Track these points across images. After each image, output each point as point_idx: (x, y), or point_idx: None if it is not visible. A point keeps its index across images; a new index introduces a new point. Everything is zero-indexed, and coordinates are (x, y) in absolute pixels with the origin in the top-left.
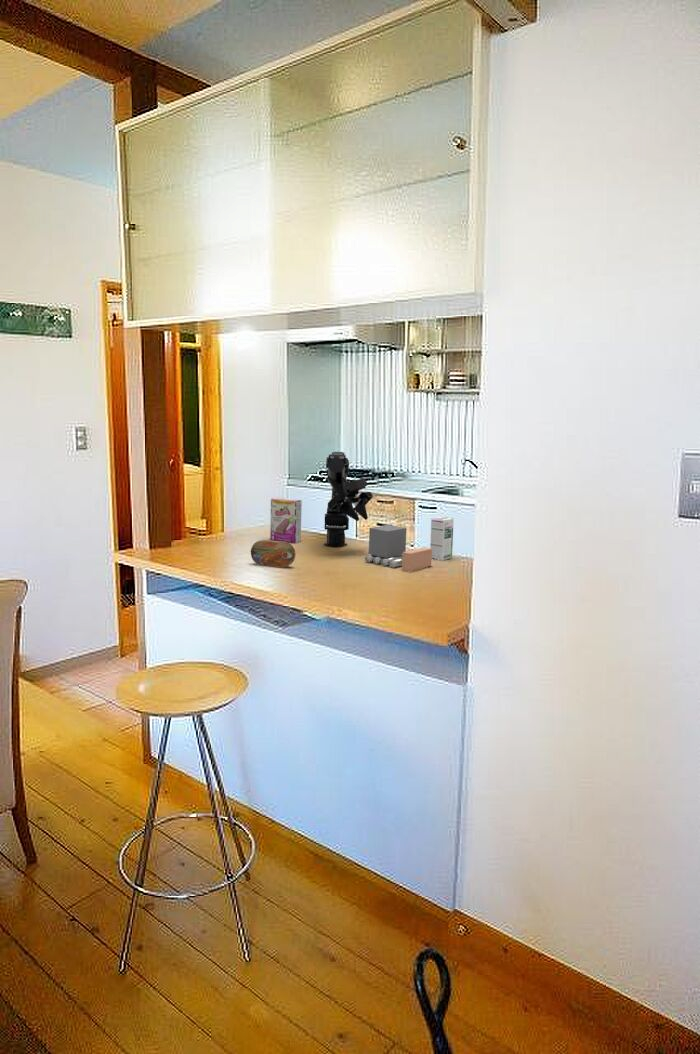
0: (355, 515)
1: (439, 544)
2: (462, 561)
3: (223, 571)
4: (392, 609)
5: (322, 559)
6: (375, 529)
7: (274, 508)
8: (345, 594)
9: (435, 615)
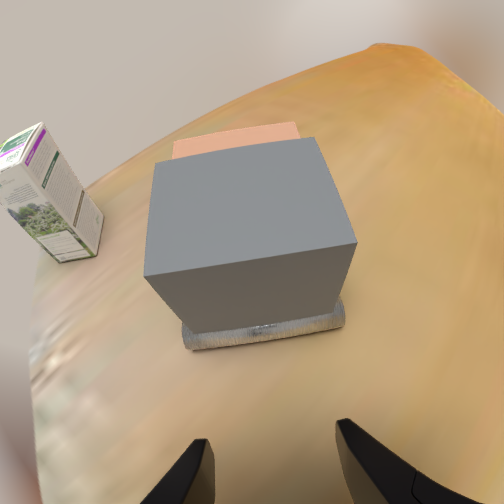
0: (380, 447)
1: (79, 196)
2: None
3: None
4: (442, 80)
5: (459, 441)
6: (340, 201)
7: None
8: (491, 135)
9: (401, 57)
